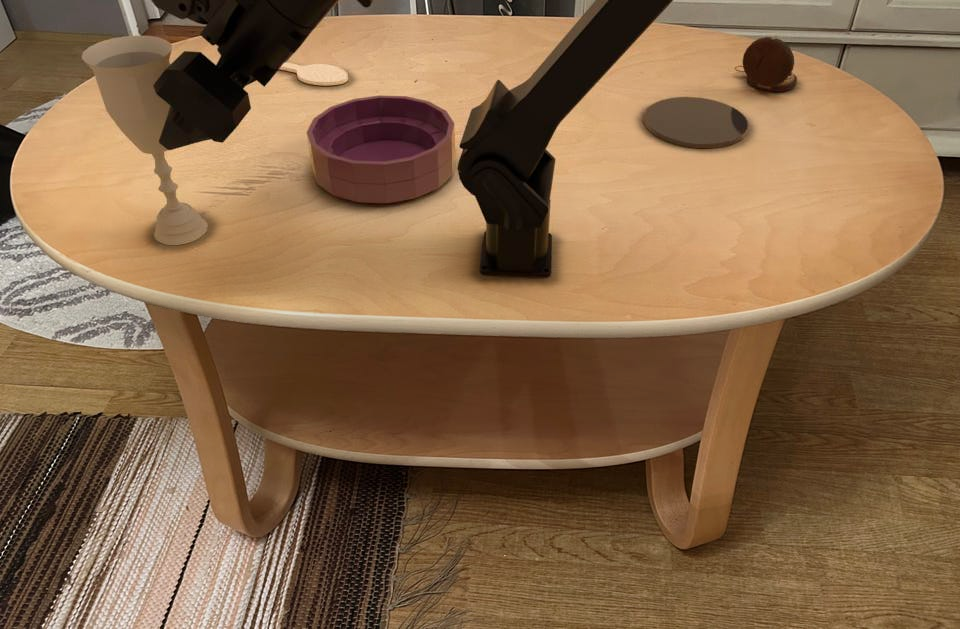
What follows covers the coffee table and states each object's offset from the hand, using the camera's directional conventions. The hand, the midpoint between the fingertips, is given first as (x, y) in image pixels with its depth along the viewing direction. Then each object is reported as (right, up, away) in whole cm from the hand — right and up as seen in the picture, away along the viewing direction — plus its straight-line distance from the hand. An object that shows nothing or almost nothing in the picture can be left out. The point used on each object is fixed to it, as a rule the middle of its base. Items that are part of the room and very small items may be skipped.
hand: (186, 120), depth 70 cm
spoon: (0, +16, +37) cm, 40 cm away
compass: (+62, +13, +33) cm, 72 cm away
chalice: (-4, -9, +8) cm, 13 cm away
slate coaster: (+51, +6, +25) cm, 57 cm away
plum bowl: (+15, -1, +17) cm, 23 cm away
